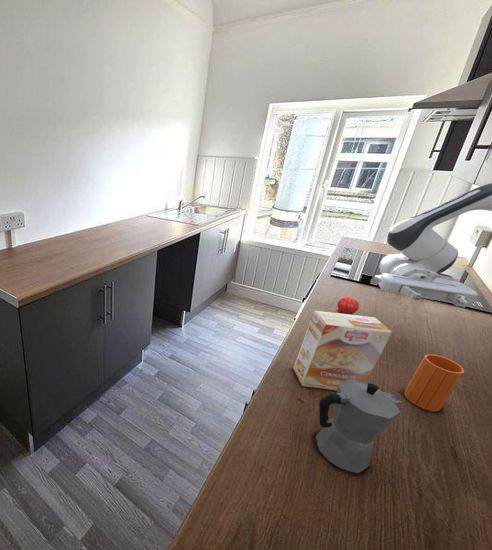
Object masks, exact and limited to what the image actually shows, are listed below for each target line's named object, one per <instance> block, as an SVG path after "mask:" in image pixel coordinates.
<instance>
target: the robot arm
mask: <svg viewBox="0 0 492 550" xmlns="http://www.w3.org/2000/svg"><path fill="white" fill-rule="evenodd" d="M480 210H481V211H489V212H492V182H490V183H486V184H484V185H481V186H478V187H476V188H473V189H471V190H469V191H466V192H464V193H461V194H460V195H458V196H455V197H453V198H451V199H449V200H447V201H444V202H443V203H439V205H436V206H435V207H432V208H429V209H428V210H426V211H424V212H421V213H419V214H417V215H414V216H411V217H409V218H406V219H403V220H401V221H398V222H396V223H395V224H394V225H393V226H391V227H390V228H389V230H388V232H387V235H386V239H387V240H386V241H387V244H388V245H389V246H390V247H392V248H393V249H395V250H396V251H398V252H399V253H394V254H393V253H392V254H388V255H386V256H384V257H383V258H382V260H381V261H380V263H379V272H380V273H381V274H379V275H375V276H374V280H376V281H377V282H378V287H379V288H380V289H381V290H382V291H383V292H385V293H390V294H395V295H401V296H402V295H403V296H406V297H409V298H410V299H411V300H416V301H419V300H421V299H426V300H431V301H437V302H438V301H439V302H444V303H451V304H453V305H454V306H455V307H458V308H463V309H464V308H466V307H471V306H472V305H474V304H475V302H476V301H477V299H478V296H479V294H478V292H477V291H476V290H474V289H472V287H469V286H468V285H466V284H465V283H463V282H461V281H458V278H457V277H455V276H453V275H449V274H445V273H444V272H446V271H447V270H448V269H451V267H452V266H454V264H455V262H456V261H457V259H458V256H459V250H458V249H457V248H456V247H455V246H453V244H452V243H450V242H449V241H448V240H446V239H445V238H444V237H442V236H441V235H440V234H439V233H438V232H436V231H435V230H434V229H433V228H434V227H436V226H438V225H440V224H443V223H445V222H447V221H449V220H452V219H453V218H456V217H458V216H461V215H463V214H466V213H468V212H471V211H472V212H473V211H480Z"/></svg>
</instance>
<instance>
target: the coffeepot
mask: <svg viewBox="0 0 492 550" xmlns="http://www.w3.org/2000/svg"><path fill="white" fill-rule="evenodd" d="M399 403H402V400H401V399H399V398H398V397H397V395H394V394H392V393H389V392H386V391H384V390H383V391H381V390H380V388H379V386H378V385H377V384H375V383H373V382H369V383H368V382H367V383H362V382H358V381H354V380H350V379H348V380H346V381H344V382H342V383H340V384H338V389H337V390H336V393H328V394H326V395H324V397H321V399H320V400H319V403H318V406H319V425H320V427H321V429H320V430H319V432H318V433H317V434H316V435H315V440H316V445H317V448H318V450H319V452H320V453H321V455H323V457H324V458H325V459H326V460H327V461H329V462H330V463H331V464H332V465H334V466H335V467H337V468H339V469H341V470H343V471H346V472H350V473H356V474H359V473H361V472H363V471H364V470H365V469H367V468H368V467H369V466H370V461H371V457H372V453H373V448H374V444H375V441H374V439H375V438H376V437H378V436H379V435H380V434H382V432H383V431H384V430H385V429H386V428H387V427H388V426H389V425H390V424H391V423H392V422H393V421H394V420H395V418H397V416H398V415H399V414H400V413H401V411H400V409H399V408H398V405H397V404H399ZM332 405H333V410H332V412H333V416H332V417H331V418H330V419H329V410H330V406H332Z"/></svg>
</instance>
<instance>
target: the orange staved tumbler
mask: <svg viewBox="0 0 492 550" xmlns="http://www.w3.org/2000/svg"><path fill="white" fill-rule="evenodd" d="M438 366H440V367H442V368H444V369H442V368H440V367H438ZM445 369H446V370H445ZM464 374H465V369H464V368H463V367H462V366H461V365H460V364H459V363H457V362H456V361H453V360H451V359H450V358H447V357H444V356H442V355H438V354H433V353H428V354H427V353H426V354H425V355H424V357H423V359H422V360H421V361H420V363H419V365H418V367H417V369H416V371H415V373H414V374H413V376H412V378H411V379H410V381H409V383H408V385H407V387H406V388H405V390H404V393H403V396H404V397H405V398H406V399H407V400H408V402H410V403H411V404H413V405H415V406H416V407H418V408H421V409H422V410H425V411H429V412H435V413H436V412H439V411H441V409H442V408H443V406H444V405H445V403H446V401H448V399H449V397H450V396H451V394H452V392H453V391H454V390H455V388H456V386H457V385H458V383H459V382H460V380H461V378H462V377H463V375H464Z"/></svg>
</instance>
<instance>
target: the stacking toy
mask: <svg viewBox="0 0 492 550" xmlns="http://www.w3.org/2000/svg"><path fill="white" fill-rule="evenodd" d="M336 307H337V309H334V311H333V313H340V314H349V315H354V314H355V313H356V312H357V311H358V310H359V308H360V304H359V302H358V300H357V299H355V298H354V297H351V296H344V297H341V298H340V299H339V300H338V301H337V306H336Z"/></svg>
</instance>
